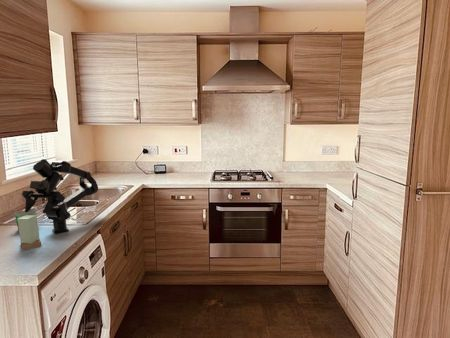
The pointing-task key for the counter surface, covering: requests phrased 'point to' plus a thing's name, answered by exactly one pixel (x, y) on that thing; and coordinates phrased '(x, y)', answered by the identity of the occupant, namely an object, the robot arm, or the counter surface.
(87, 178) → the robot arm
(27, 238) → the sage block
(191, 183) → the counter surface
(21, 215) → the food container
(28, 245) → the tan slab
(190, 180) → the counter surface
